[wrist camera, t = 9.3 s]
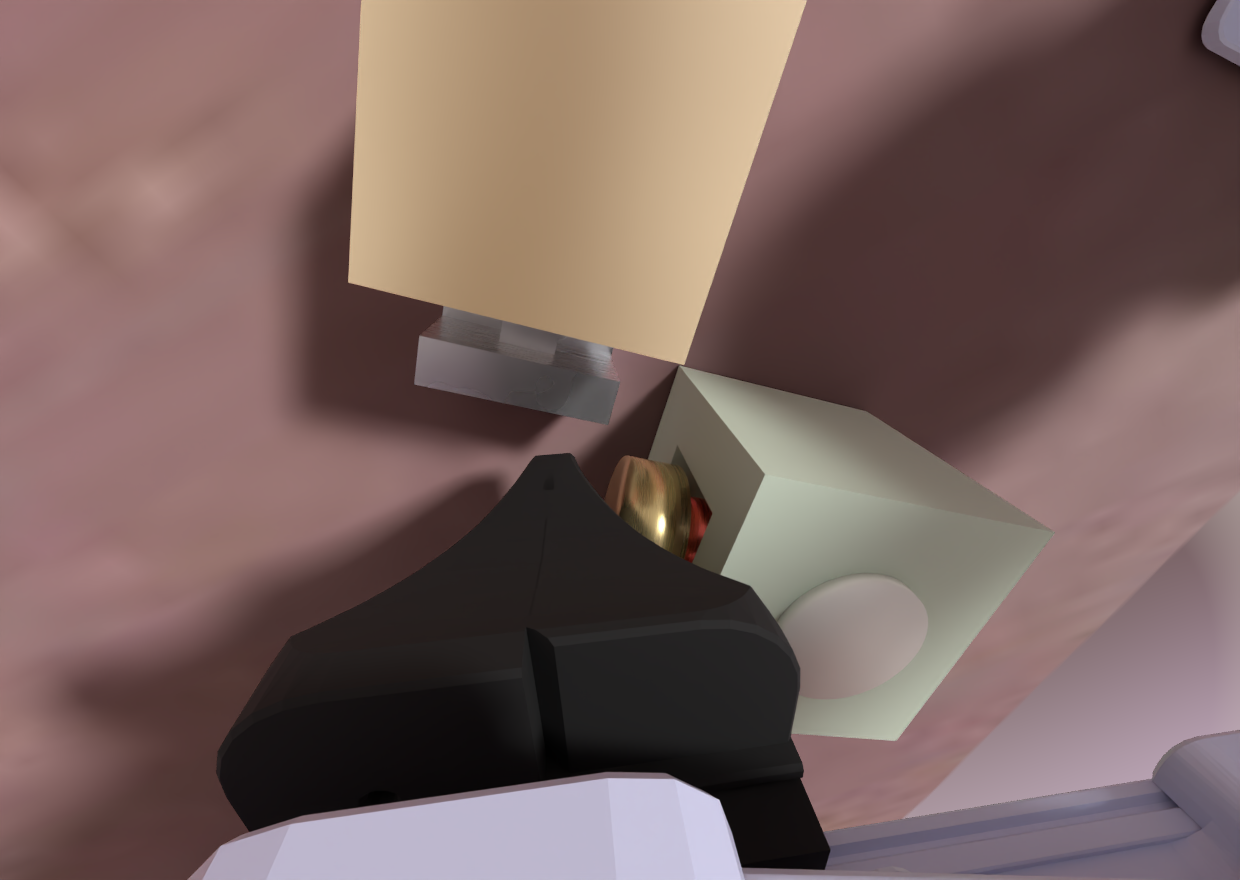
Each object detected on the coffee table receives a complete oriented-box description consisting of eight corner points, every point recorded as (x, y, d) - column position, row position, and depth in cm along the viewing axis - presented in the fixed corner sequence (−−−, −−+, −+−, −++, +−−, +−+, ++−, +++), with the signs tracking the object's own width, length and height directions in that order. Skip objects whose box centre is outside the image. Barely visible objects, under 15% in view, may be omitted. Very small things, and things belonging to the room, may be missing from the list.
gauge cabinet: (866, 411, 14) (1070, 542, 9) (786, 568, 16) (904, 753, 11) (679, 365, 13) (772, 484, 7) (620, 543, 15) (656, 738, 10)
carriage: (712, 47, 9) (837, -90, 5) (637, 308, 11) (684, 365, 7) (467, -52, 8) (375, -320, 4) (433, 254, 10) (348, 282, 6)
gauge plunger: (863, 483, 13) (944, 554, 10) (816, 569, 14) (877, 653, 11) (624, 433, 11) (643, 501, 9) (593, 534, 13) (603, 621, 10)
